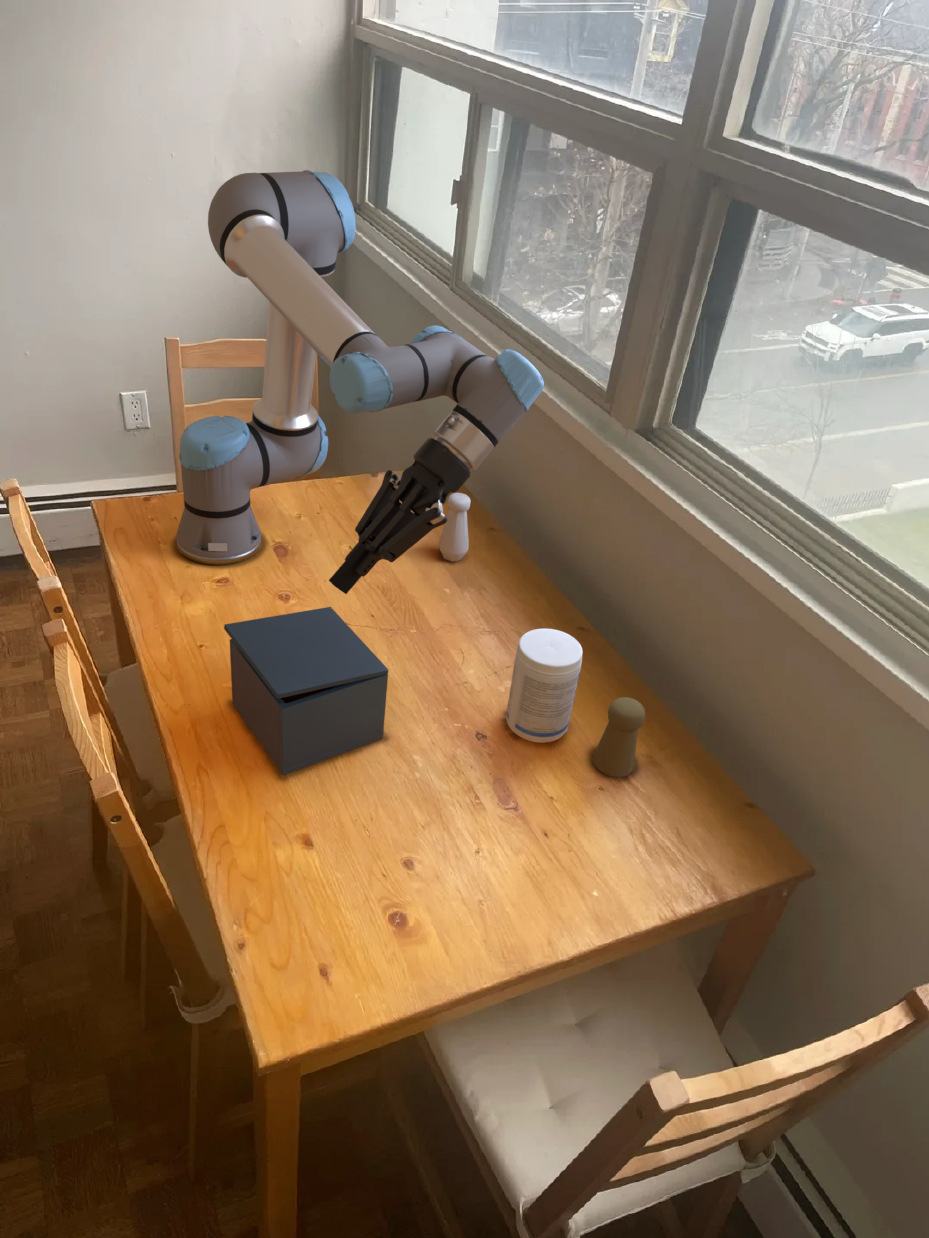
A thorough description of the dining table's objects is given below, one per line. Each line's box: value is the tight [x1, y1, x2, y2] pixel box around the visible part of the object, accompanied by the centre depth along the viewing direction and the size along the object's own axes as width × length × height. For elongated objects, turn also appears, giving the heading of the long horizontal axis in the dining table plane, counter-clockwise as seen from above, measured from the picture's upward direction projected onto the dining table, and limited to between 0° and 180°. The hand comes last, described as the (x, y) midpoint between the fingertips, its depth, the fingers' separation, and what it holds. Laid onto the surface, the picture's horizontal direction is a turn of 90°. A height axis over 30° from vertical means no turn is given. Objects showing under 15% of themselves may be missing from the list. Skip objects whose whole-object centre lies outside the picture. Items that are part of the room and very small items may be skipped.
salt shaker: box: [438, 492, 472, 563], centre depth 171 cm, size 6×6×13 cm
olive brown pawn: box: [592, 696, 646, 778], centre depth 129 cm, size 6×6×11 cm
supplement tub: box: [505, 628, 584, 744], centre depth 133 cm, size 10×10×15 cm
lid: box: [223, 606, 389, 699], centre depth 124 cm, size 17×17×1 cm
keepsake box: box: [229, 638, 389, 777], centre depth 128 cm, size 16×17×12 cm
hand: (337, 587), depth 121 cm, fingers closed
